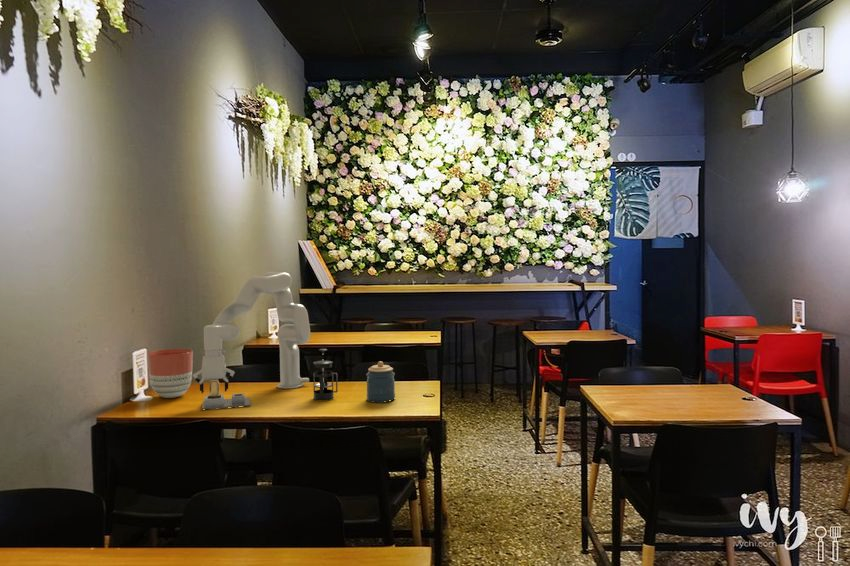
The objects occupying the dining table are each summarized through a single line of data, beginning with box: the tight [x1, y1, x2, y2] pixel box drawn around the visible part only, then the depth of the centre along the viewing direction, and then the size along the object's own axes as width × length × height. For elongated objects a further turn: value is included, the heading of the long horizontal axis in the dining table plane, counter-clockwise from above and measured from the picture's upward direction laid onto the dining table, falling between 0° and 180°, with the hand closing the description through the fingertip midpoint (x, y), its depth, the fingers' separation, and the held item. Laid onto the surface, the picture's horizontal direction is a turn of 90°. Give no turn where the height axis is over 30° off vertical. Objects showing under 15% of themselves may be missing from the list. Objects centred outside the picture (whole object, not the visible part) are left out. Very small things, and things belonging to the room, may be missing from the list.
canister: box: [365, 360, 396, 403], centre depth 264 cm, size 13×13×18 cm
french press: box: [312, 348, 339, 401], centre depth 267 cm, size 12×9×23 cm
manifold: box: [201, 393, 251, 411], centre depth 257 cm, size 20×14×4 cm
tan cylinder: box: [208, 379, 220, 399], centre depth 256 cm, size 4×4×10 cm
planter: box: [147, 348, 194, 399], centre depth 273 cm, size 20×20×21 cm
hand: (214, 391), depth 256 cm, fingers open, 9 cm apart
